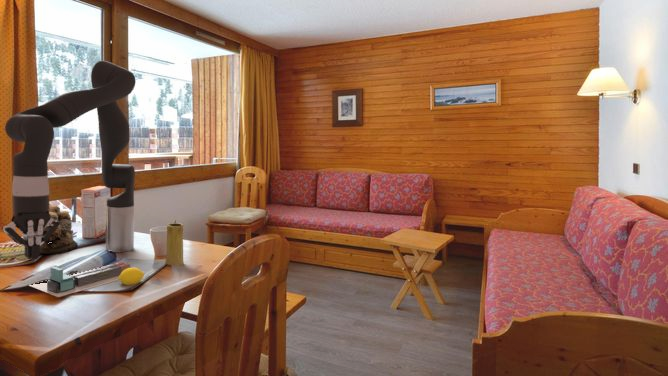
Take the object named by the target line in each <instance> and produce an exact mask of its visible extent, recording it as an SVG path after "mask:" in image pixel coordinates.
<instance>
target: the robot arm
mask: <svg viewBox="0 0 668 376" xmlns="http://www.w3.org/2000/svg"><path fill="white" fill-rule="evenodd" d="M90 82H91V88H87V89H80V90H79V89H78V90H73V91H72V90H71V91H68V92H65V93H61V94H60V95H58V96H56V97H54V98H52V99H50V100H48V101H46V103H44V104H41V105H38V106H35V107H31V108H28V109H26V110H22V111H19V112H18V113H16V114H13V115H12V116H11V117H9V118H8V119H7V121H6V123H5V127H4V131H5V133H6V135H7V136H8V138H9V139H11V140H13V141H15V142H18V143H24V147H23V148H22V149H23V150H22V151H20V152H17V153H16V154H14V156H13V159H12V169H13V170H12V171H13V175H12V176H13V177H12V178H13V179H12V185H11V187H12V188H11V194H12V213H13V216H12V218H11V222H10V223H8V224H7V225H3V226H2V227H1V228H0V230H1V231H2V232H3V233H5V235H6V236H8V237H9V238H10V239H11V240H12V241H13V242H15V243H16V244H18V245H22V246H24V256H25V258H27V260H31V261H32V260H36V259H39V256H40V255H41V254H40V245H41V244H43V243H44V242H43V241H47V240H48V239H49V238H50V236H51V235H52V234H53V232H54V231H55V230H56V228H57V227H58V226H59V224H60V222H59V221H55V220H53V219H52V218H51V215H50V214H49V206H50V182H49V177H48V174H49V172H48V171H49V170H48V169H49V168H48V167H49V165H48V160H49V159H48V158H49V156H50V153H51V150H52V147H53V143H54V138H55V129H54V128H61V127H62V128H63V127H64V126H66V125H68V124H70V123H72V122H73V121H75V120H76V119H78V118H80V117H81V116H83V115H84V114H87V113H88V112H90V111H93V110H95V109H96V110H97V111H96V112H97V113H96V114H97V119H98V133H99V135H98V136H99V141H100V142H99V143H100V150H101V176H102V184H103V186H105V187H107V188H110V189H124V191H123V192H122V193H119V194H117V195H114V196H110V198H108V199H107V225H106V234H105V249H106V250H107V249H108V250H112V251H114V252H113V253H125V252H129V251H132V250H134V245H135V244H134V243H135V242H134V241H135V239H134V238H135V236H134V235H135V197H134V196H135V178H136V173H135V171H136V170H135V167H134V165H133V164H123V163H114V161H115V160H116V159H117V157H118V156H119V155H120V154H121V153H122V152H123V151H124V150H125V148H126V147H127V146H128V145H129V142H130V124H129V122H128V119H127V117H126V116H125V114H124V112H123V110H122V109H121V107H120V106H119V104H118V102H117V101H119V100H122V99H124V98H126V97H128V96H129V95H131V93H132V92H133V90H134V88H135V86H136V77H135V75H134V73H133V72H131V71H130V70H129V69H127V68H125V67H121V66H120V65H117V64H116V63H113V62H110V61H107V60H101V59H100V60H98V61H97V62H95V64H94V65H93V67H92V70H91V74H90ZM46 224H47V227H46V228H45V229H44V227H45V226H46ZM17 229H18V230H19V232H21V235H19V233H17V232H16V231H17ZM43 229H44V230H43Z"/></svg>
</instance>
